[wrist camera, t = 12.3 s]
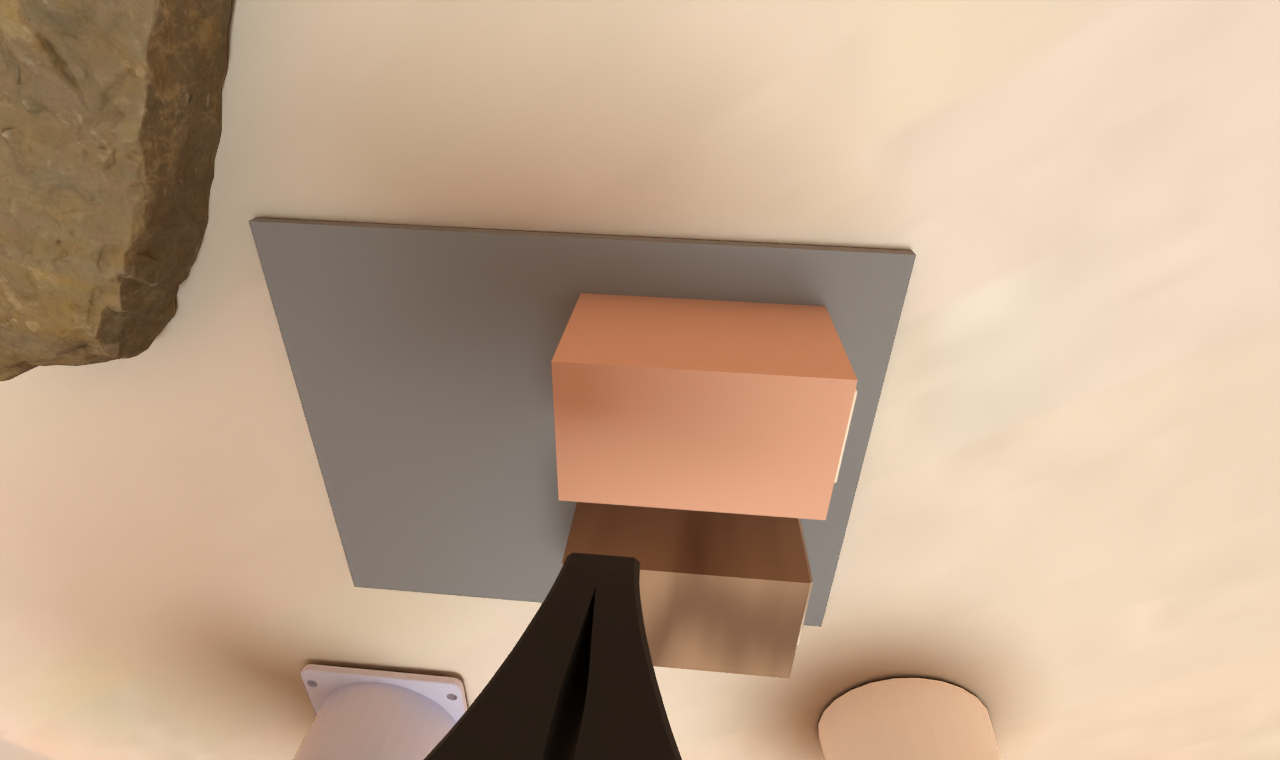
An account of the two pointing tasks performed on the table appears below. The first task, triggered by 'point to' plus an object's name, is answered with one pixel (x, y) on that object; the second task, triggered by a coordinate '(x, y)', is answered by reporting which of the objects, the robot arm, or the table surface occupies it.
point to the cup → (907, 723)
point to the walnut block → (708, 583)
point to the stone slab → (102, 170)
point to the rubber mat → (512, 379)
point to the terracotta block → (701, 405)
